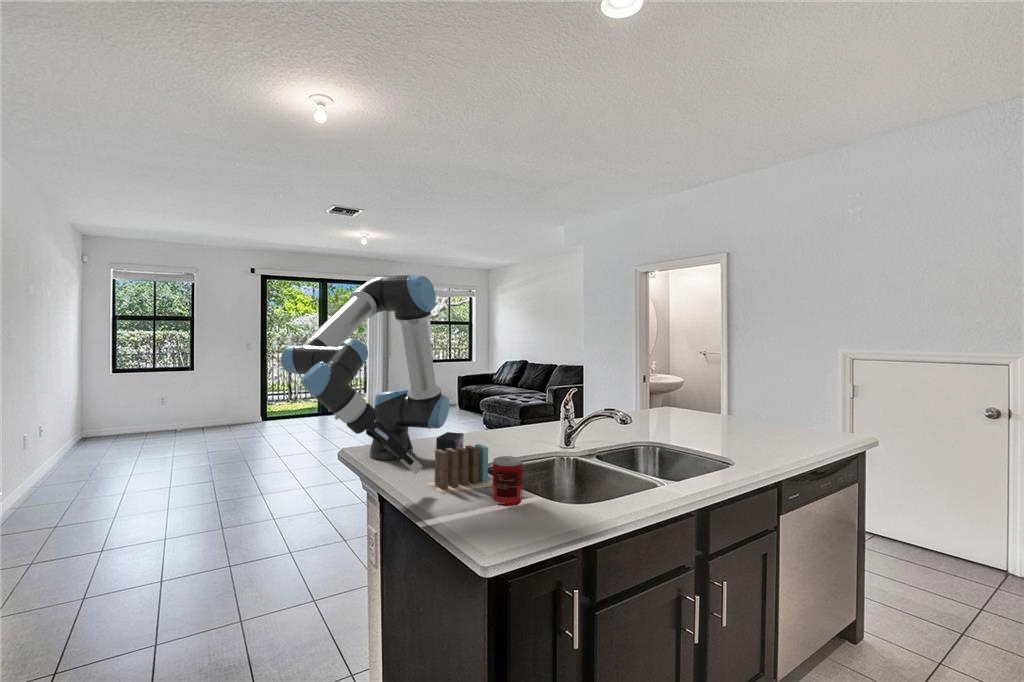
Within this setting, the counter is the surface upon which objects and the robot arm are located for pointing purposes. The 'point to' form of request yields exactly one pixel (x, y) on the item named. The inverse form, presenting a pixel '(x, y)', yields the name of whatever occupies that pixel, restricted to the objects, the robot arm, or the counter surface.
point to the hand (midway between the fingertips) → (418, 469)
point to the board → (461, 487)
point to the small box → (449, 441)
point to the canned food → (507, 480)
